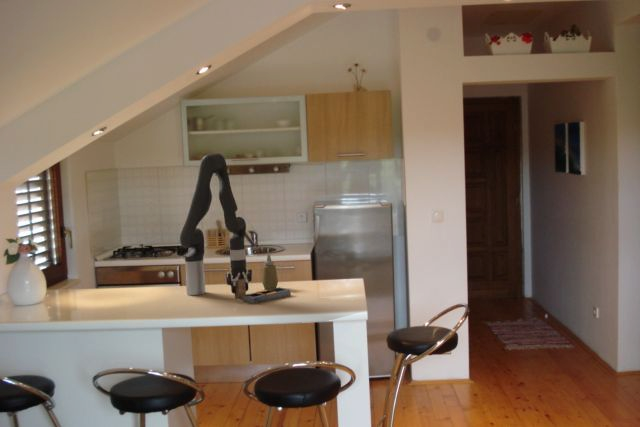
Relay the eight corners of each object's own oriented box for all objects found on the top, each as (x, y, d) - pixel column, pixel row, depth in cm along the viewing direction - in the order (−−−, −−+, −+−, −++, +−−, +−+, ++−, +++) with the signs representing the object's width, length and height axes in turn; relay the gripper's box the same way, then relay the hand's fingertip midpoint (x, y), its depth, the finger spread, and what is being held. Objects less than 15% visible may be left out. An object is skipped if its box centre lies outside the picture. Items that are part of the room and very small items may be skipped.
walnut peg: (234, 298, 343) (233, 278, 342) (241, 297, 346) (240, 277, 345) (239, 299, 340) (238, 279, 339) (246, 298, 343) (245, 278, 342)
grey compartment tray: (242, 301, 336) (242, 294, 336) (279, 293, 350) (279, 286, 350) (253, 304, 329) (253, 297, 329) (290, 295, 344) (290, 289, 343)
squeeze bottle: (281, 288, 362) (279, 253, 360) (272, 291, 356) (270, 256, 354) (268, 287, 367) (266, 252, 365) (259, 290, 360) (257, 255, 358)
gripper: (245, 255, 349) (247, 288, 350) (221, 259, 339) (223, 293, 341) (254, 256, 343) (256, 290, 345) (229, 261, 334) (232, 295, 335)
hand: (240, 292), depth 343 cm, fingers open, 6 cm apart
